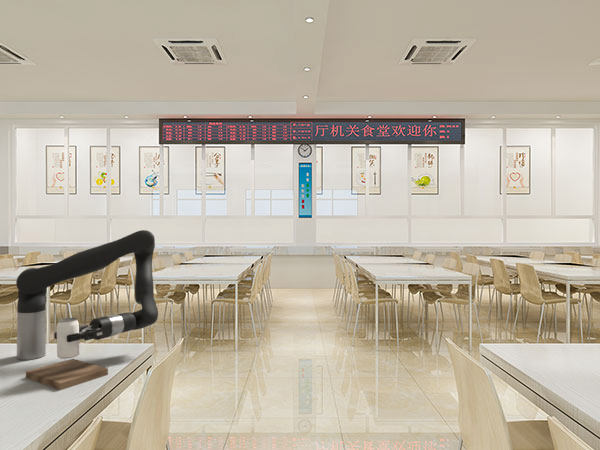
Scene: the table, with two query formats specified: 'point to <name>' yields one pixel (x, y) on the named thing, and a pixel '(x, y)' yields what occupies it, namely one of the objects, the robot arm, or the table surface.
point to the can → (64, 329)
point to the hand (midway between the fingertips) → (61, 337)
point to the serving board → (66, 373)
